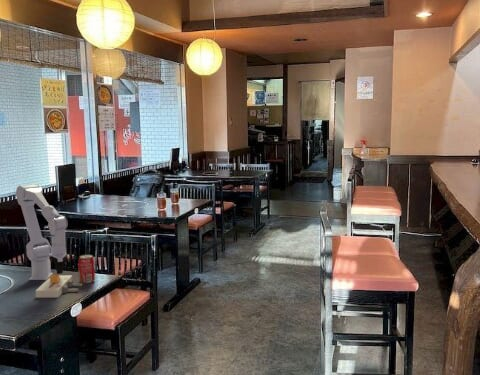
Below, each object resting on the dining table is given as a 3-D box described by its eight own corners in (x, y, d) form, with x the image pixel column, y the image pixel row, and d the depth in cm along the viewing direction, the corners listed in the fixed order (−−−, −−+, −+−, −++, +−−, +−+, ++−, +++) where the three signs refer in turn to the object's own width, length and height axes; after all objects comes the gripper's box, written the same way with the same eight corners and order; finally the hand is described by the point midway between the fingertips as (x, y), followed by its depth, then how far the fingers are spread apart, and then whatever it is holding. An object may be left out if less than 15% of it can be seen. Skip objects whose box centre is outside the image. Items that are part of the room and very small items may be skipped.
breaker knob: (52, 281, 200) (51, 273, 200) (59, 281, 201) (59, 273, 200) (50, 282, 198) (49, 275, 198) (57, 282, 198) (57, 275, 198)
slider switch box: (52, 281, 209) (52, 275, 209) (72, 281, 210) (72, 275, 210) (35, 297, 190) (35, 290, 189) (58, 297, 190) (57, 290, 190)
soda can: (87, 278, 215) (86, 253, 214) (98, 280, 212) (97, 255, 210) (75, 282, 209) (74, 256, 208) (86, 285, 206) (85, 259, 204)
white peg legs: (69, 285, 205) (69, 280, 204) (82, 285, 205) (82, 280, 205) (62, 292, 196) (62, 287, 195) (77, 292, 196) (76, 287, 196)
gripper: (48, 241, 209) (49, 269, 210) (49, 248, 196) (51, 279, 197) (64, 239, 212) (65, 268, 213) (67, 246, 199) (68, 277, 200)
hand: (59, 273), depth 206 cm, fingers closed
